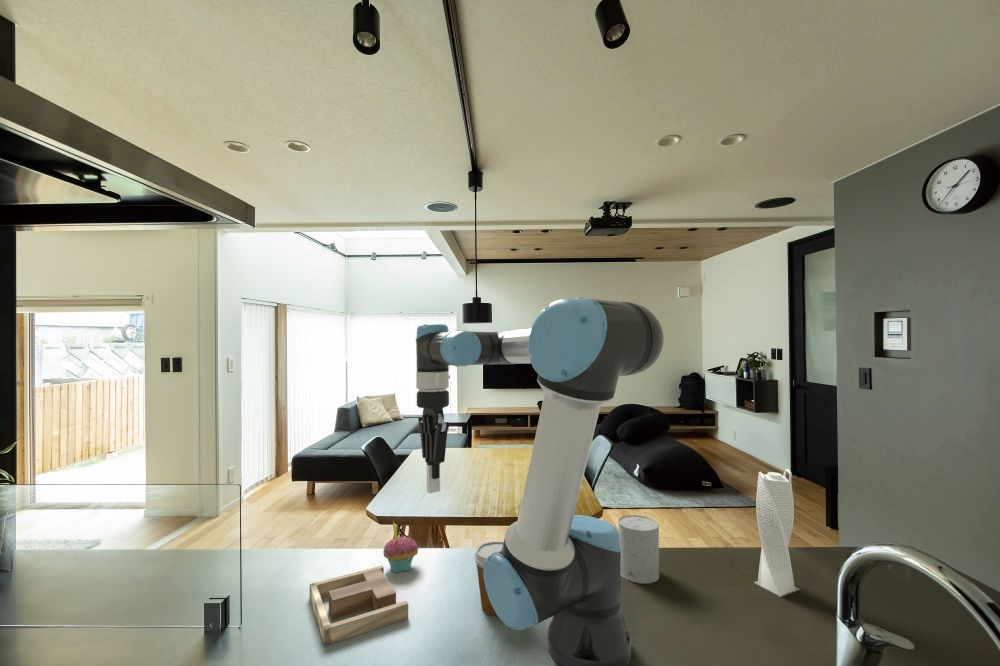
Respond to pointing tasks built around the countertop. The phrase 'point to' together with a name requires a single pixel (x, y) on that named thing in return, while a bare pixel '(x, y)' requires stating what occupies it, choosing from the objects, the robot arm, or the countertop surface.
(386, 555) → the cupcake
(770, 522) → the skyscraper
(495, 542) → the disposable coffee cup
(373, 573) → the t block
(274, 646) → the countertop surface
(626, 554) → the white marble cylinder
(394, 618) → the bay
